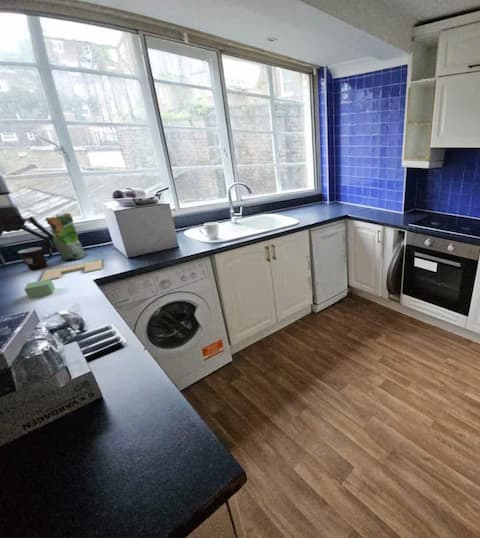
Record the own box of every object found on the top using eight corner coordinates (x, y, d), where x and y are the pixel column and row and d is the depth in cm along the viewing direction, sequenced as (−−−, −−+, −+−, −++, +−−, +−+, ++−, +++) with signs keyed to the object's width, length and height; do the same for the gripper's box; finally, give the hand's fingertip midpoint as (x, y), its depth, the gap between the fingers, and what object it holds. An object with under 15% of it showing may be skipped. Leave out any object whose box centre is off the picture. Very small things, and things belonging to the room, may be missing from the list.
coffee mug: (22, 270, 150) (12, 252, 146) (41, 264, 158) (33, 247, 154) (40, 272, 148) (31, 253, 144) (59, 265, 156) (51, 247, 152)
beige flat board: (40, 283, 135) (39, 281, 135) (45, 273, 147) (44, 270, 146) (101, 270, 148) (100, 268, 147) (102, 262, 159) (101, 260, 159)
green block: (30, 301, 119) (24, 289, 117) (33, 295, 124) (27, 283, 122) (54, 295, 123) (48, 284, 121) (56, 290, 128) (50, 278, 126)
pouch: (87, 253, 174) (69, 211, 164) (89, 257, 166) (71, 214, 156) (61, 258, 166) (41, 214, 157) (62, 263, 159) (41, 218, 149)
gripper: (49, 200, 118) (71, 250, 127) (-48, 210, 104) (-16, 265, 113) (46, 203, 113) (69, 254, 121) (-56, 213, 99) (-22, 271, 107)
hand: (28, 260), depth 117 cm, fingers open, 13 cm apart
